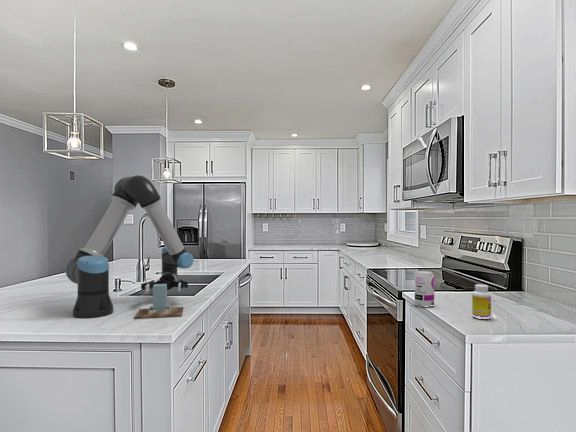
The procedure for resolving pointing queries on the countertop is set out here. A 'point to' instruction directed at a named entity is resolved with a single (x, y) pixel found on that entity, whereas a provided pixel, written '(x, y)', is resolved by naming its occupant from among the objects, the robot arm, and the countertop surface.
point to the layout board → (159, 312)
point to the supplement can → (424, 288)
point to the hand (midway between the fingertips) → (162, 288)
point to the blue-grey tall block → (160, 297)
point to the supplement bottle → (481, 301)
